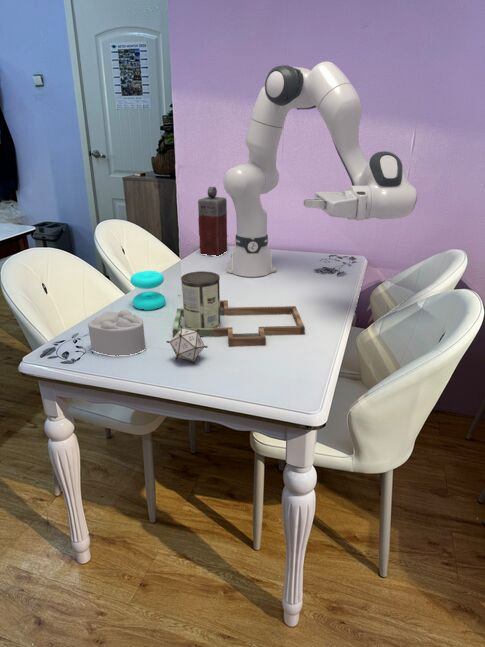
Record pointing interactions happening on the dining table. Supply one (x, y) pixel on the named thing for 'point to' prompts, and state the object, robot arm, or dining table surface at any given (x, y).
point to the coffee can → (201, 299)
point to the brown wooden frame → (248, 338)
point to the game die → (187, 344)
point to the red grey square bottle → (212, 223)
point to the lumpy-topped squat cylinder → (117, 333)
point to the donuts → (147, 282)
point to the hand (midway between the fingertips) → (304, 203)
